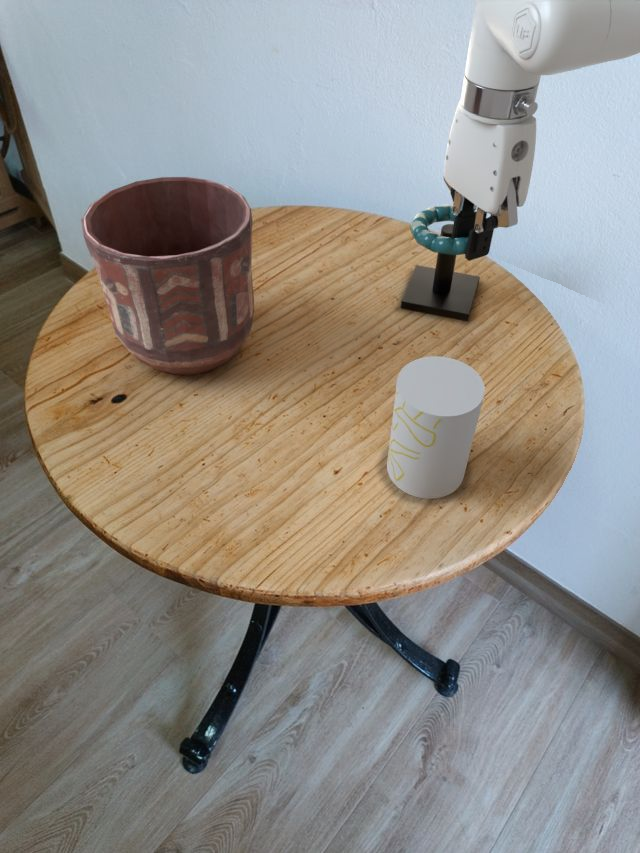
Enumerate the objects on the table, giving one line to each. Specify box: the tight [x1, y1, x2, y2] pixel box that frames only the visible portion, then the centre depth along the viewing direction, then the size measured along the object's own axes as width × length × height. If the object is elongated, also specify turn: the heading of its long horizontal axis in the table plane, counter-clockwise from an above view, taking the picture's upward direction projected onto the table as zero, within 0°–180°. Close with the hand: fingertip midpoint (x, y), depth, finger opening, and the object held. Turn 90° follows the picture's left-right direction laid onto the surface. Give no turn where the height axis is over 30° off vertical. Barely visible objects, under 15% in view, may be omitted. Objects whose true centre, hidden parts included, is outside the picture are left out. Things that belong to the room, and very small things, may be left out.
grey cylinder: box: [386, 355, 486, 500], centre depth 68 cm, size 8×8×12 cm
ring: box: [410, 204, 477, 256], centre depth 86 cm, size 10×10×2 cm
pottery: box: [80, 176, 255, 376], centre depth 80 cm, size 18×18×18 cm
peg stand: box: [400, 223, 481, 322], centre depth 90 cm, size 9×9×10 cm
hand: (469, 249), depth 84 cm, fingers closed on ring, 2 cm apart
